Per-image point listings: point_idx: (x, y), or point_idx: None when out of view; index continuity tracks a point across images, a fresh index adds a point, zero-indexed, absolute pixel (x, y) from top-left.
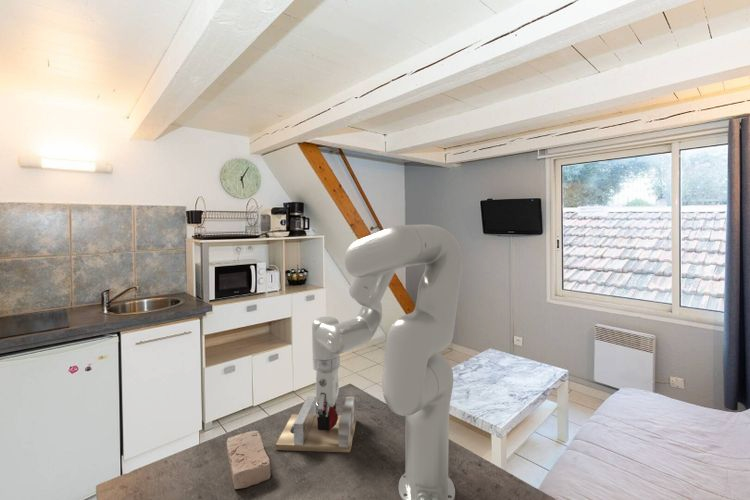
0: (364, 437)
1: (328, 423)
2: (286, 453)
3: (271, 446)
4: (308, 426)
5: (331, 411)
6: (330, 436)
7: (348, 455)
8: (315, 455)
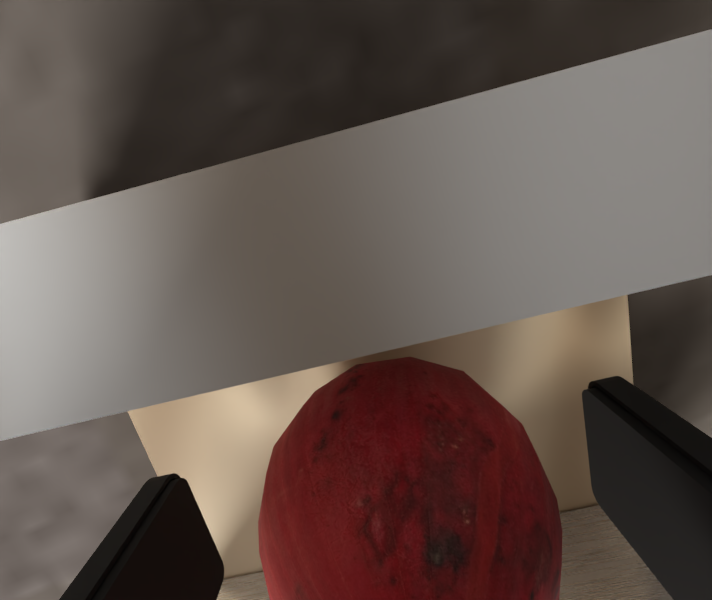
0: (315, 34)
1: (689, 435)
2: None
3: None
4: None
5: (486, 544)
6: (476, 343)
7: None
8: (650, 363)
